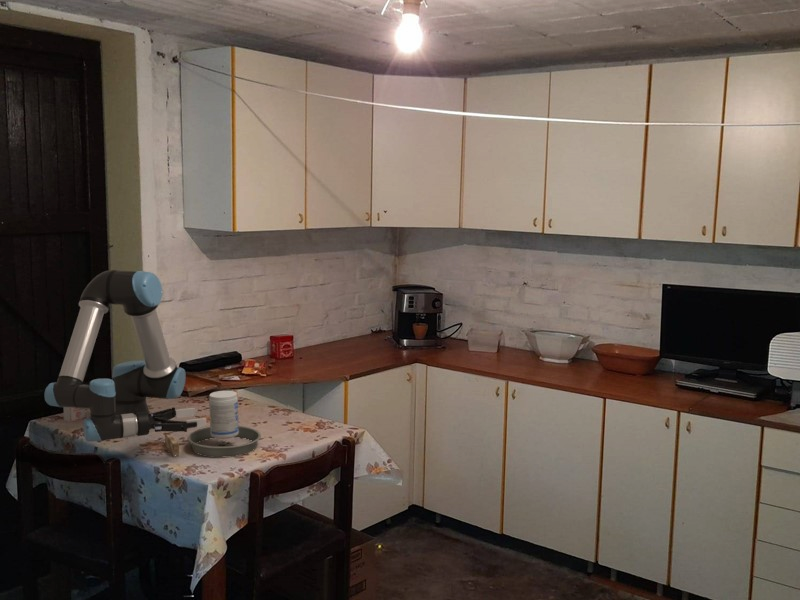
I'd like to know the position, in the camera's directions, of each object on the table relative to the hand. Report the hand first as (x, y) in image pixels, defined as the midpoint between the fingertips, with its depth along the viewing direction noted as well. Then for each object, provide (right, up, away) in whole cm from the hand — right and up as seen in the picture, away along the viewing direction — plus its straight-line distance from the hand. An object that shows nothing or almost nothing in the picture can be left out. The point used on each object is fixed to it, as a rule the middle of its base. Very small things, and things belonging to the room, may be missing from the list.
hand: (200, 416), depth 261 cm
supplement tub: (+7, -7, +5) cm, 11 cm away
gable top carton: (-56, -6, +32) cm, 65 cm away
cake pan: (+7, -12, +6) cm, 15 cm away
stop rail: (-10, -11, 0) cm, 15 cm away
